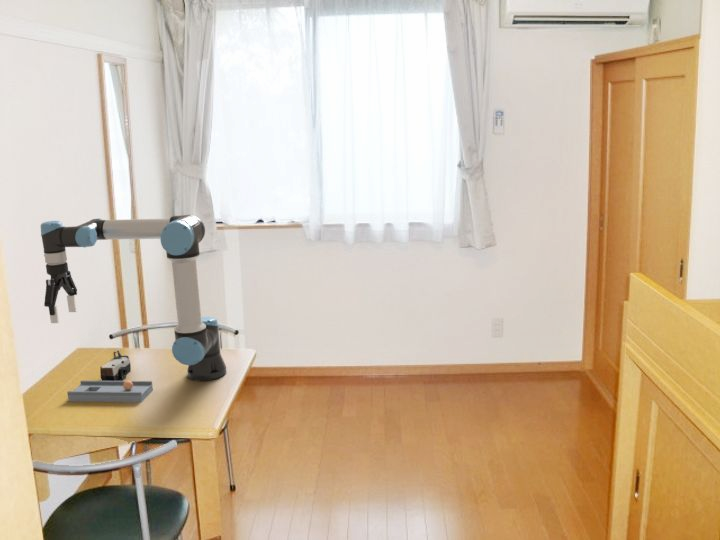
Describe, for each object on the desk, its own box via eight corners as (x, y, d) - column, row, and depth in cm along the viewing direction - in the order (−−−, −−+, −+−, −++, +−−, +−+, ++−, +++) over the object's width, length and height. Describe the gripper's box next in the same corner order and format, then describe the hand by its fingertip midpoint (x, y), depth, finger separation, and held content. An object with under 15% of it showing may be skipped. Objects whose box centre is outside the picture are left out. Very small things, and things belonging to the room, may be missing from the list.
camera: (117, 385, 291) (114, 360, 289) (99, 384, 292) (96, 360, 290) (136, 370, 305) (133, 347, 303) (119, 370, 307) (116, 346, 304)
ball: (134, 387, 281) (133, 379, 280) (131, 391, 278) (130, 382, 277) (125, 387, 281) (124, 378, 280) (122, 391, 278) (120, 382, 277)
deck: (152, 390, 285) (151, 380, 284) (141, 402, 274) (140, 392, 273) (82, 389, 288) (81, 380, 287) (68, 401, 277) (67, 392, 276)
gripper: (63, 255, 292) (70, 307, 297) (28, 271, 268) (37, 327, 273) (81, 255, 291) (88, 307, 296) (48, 270, 267) (56, 327, 272)
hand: (64, 317), depth 285 cm, fingers open, 13 cm apart
